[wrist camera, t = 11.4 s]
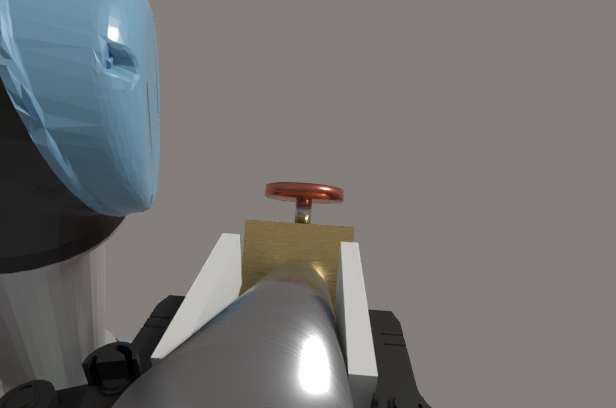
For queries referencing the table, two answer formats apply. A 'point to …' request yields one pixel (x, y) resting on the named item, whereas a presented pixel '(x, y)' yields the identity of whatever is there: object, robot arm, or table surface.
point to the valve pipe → (266, 324)
